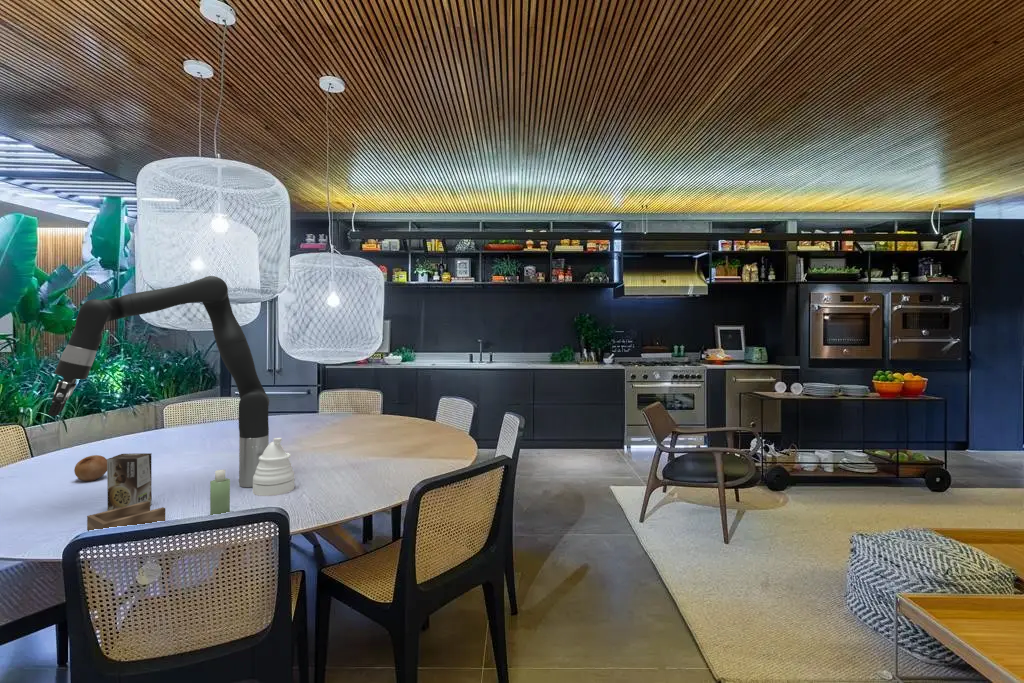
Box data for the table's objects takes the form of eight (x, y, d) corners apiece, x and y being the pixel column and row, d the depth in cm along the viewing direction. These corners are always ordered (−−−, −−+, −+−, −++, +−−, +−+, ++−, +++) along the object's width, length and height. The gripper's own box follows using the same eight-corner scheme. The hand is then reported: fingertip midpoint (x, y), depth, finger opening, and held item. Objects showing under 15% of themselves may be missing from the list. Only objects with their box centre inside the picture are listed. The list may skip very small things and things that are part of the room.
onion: (88, 491, 170) (81, 469, 166) (72, 481, 173) (64, 459, 169) (117, 475, 178) (111, 454, 174) (101, 465, 181) (94, 444, 177)
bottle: (224, 510, 145) (224, 467, 145) (233, 513, 143) (233, 470, 143) (206, 515, 141) (206, 471, 141) (215, 518, 138) (216, 474, 138)
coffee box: (152, 504, 149) (153, 452, 149) (137, 511, 143) (137, 458, 143) (122, 504, 149) (123, 452, 149) (106, 511, 143) (106, 458, 143)
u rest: (147, 514, 141) (147, 500, 141) (165, 522, 135) (165, 508, 135) (87, 530, 129) (87, 515, 129) (103, 539, 123) (103, 524, 123)
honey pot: (302, 488, 167) (302, 436, 167) (267, 498, 156) (267, 443, 156) (279, 482, 174) (280, 432, 173) (244, 491, 163) (245, 439, 162)
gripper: (89, 366, 143) (67, 419, 140) (94, 363, 154) (74, 412, 152) (56, 359, 139) (33, 414, 136) (64, 357, 150) (42, 407, 147)
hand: (54, 413), depth 144 cm, fingers open, 8 cm apart
